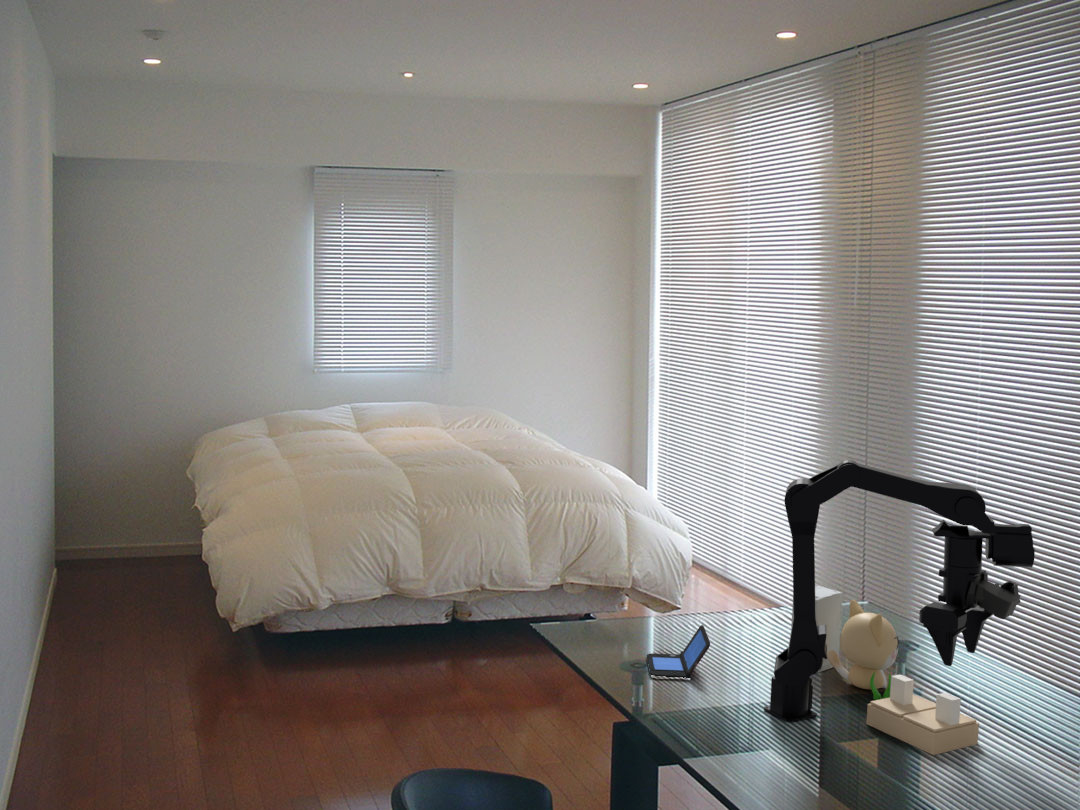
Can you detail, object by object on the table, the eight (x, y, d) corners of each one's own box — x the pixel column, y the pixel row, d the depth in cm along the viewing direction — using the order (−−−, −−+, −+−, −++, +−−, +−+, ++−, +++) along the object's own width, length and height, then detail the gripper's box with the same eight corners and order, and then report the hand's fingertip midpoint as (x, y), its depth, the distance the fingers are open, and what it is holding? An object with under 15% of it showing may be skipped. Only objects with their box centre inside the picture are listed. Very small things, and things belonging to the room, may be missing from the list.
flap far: (899, 716, 179) (901, 690, 179) (870, 703, 185) (871, 677, 184) (941, 707, 184) (942, 681, 183) (910, 695, 189) (912, 670, 189)
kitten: (915, 701, 197) (920, 617, 195) (863, 704, 195) (868, 619, 193) (872, 673, 211) (877, 595, 210) (823, 675, 209) (827, 596, 208)
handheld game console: (645, 658, 217) (647, 621, 216) (701, 661, 216) (703, 623, 216) (649, 680, 204) (651, 640, 204) (709, 683, 204) (711, 643, 203)
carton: (933, 755, 173) (934, 733, 172) (866, 723, 185) (867, 703, 185) (977, 744, 178) (979, 722, 177) (909, 714, 190) (910, 694, 190)
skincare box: (814, 659, 219) (818, 584, 217) (840, 667, 214) (844, 591, 213) (787, 667, 213) (791, 590, 212) (813, 675, 209) (817, 597, 207)
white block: (934, 732, 173) (936, 704, 172) (902, 718, 178) (904, 691, 178) (976, 722, 177) (978, 695, 177) (943, 709, 183) (945, 683, 183)
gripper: (990, 582, 168) (987, 684, 169) (1035, 562, 181) (1031, 656, 183) (919, 571, 175) (916, 668, 176) (966, 552, 189) (964, 642, 190)
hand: (959, 658), depth 181 cm, fingers open, 9 cm apart
